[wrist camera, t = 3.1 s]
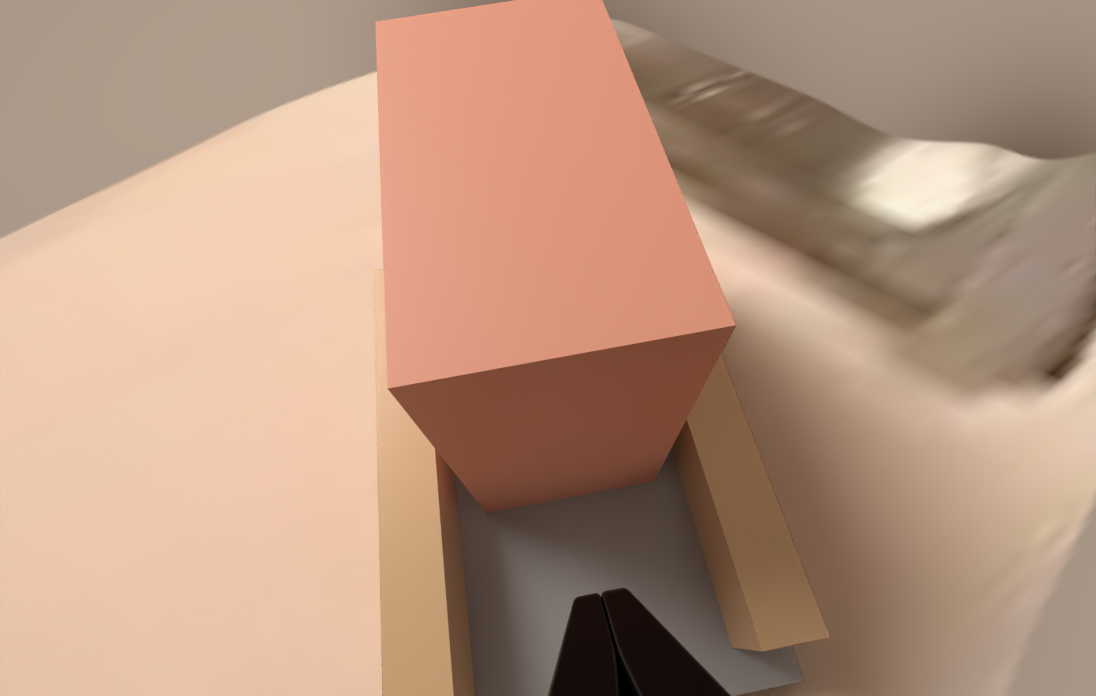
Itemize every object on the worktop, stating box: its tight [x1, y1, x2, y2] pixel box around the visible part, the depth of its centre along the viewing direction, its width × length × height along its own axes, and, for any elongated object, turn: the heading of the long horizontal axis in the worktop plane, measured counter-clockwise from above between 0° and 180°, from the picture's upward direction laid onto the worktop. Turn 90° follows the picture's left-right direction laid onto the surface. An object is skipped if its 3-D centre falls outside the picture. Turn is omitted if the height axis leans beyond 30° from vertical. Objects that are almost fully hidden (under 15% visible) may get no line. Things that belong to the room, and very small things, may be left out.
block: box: [376, 0, 736, 513], centre depth 13 cm, size 9×5×9 cm, turn 10°
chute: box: [374, 268, 830, 696], centre depth 18 cm, size 26×10×3 cm, turn 10°
